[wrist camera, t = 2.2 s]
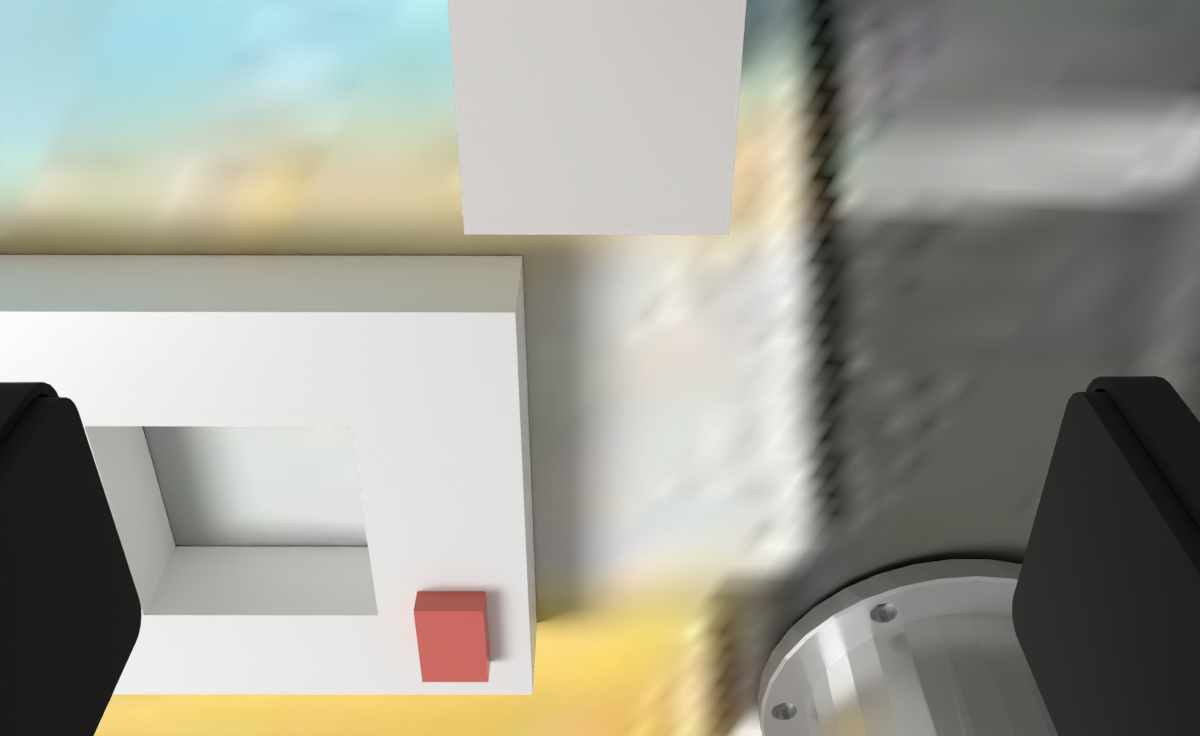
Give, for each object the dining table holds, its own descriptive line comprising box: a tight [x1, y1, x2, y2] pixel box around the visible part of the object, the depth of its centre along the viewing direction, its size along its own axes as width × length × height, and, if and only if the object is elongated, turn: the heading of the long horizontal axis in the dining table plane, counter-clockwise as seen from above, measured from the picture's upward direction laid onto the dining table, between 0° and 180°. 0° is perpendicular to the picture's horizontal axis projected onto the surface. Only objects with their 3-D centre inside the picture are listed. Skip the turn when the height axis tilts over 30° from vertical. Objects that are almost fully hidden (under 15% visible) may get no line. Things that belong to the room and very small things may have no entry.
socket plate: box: [0, 255, 537, 695], centre depth 32 cm, size 16×14×4 cm
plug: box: [448, 0, 746, 235], centre depth 23 cm, size 5×5×8 cm
